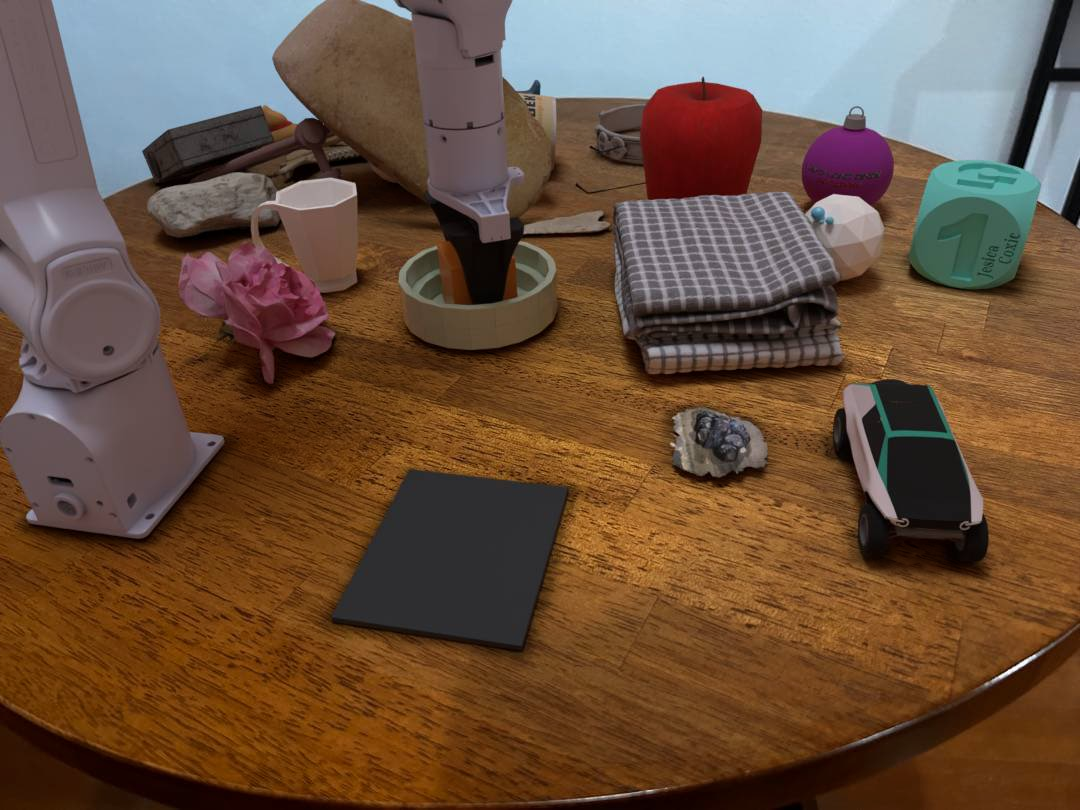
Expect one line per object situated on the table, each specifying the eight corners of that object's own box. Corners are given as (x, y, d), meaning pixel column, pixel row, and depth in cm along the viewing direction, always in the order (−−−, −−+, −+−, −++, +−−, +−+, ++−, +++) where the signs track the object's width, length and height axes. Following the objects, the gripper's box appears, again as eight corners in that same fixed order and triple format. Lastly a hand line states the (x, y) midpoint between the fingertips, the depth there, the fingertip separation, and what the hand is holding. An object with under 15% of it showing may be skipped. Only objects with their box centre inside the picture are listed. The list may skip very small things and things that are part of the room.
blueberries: (688, 495, 52) (690, 470, 50) (638, 419, 58) (639, 395, 57) (791, 471, 53) (795, 446, 52) (731, 400, 59) (733, 376, 58)
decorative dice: (902, 279, 72) (923, 187, 68) (918, 241, 78) (938, 154, 74) (1008, 298, 69) (1038, 202, 65) (1016, 257, 75) (1044, 166, 70)
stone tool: (602, 213, 86) (502, 225, 85) (602, 205, 85) (501, 217, 84) (615, 233, 82) (510, 246, 81) (615, 225, 82) (510, 237, 80)
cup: (357, 302, 73) (341, 210, 68) (246, 296, 74) (222, 206, 70) (384, 264, 78) (371, 178, 74) (280, 260, 80) (260, 174, 75)
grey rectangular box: (236, 162, 103) (152, 186, 98) (223, 128, 102) (137, 151, 97) (277, 142, 89) (181, 169, 85) (262, 103, 88) (164, 128, 84)
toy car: (925, 435, 55) (944, 364, 52) (980, 574, 46) (1008, 496, 43) (829, 431, 56) (842, 361, 53) (863, 567, 46) (882, 491, 43)
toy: (232, 147, 107) (223, 105, 104) (373, 142, 107) (368, 100, 104) (225, 155, 104) (215, 112, 101) (370, 150, 104) (364, 107, 101)
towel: (780, 259, 76) (792, 172, 71) (846, 375, 61) (866, 273, 56) (605, 267, 76) (606, 180, 71) (628, 385, 61) (630, 284, 56)
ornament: (881, 214, 74) (898, 179, 67) (870, 296, 74) (885, 270, 66) (798, 207, 76) (806, 172, 68) (787, 287, 75) (793, 260, 67)
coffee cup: (557, 155, 89) (438, 152, 88) (551, 193, 98) (443, 190, 98) (556, 71, 91) (440, 67, 90) (550, 116, 100) (445, 113, 99)
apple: (630, 244, 80) (634, 91, 72) (646, 201, 88) (651, 59, 80) (749, 252, 77) (766, 95, 70) (754, 207, 85) (770, 62, 78)
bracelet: (656, 174, 93) (657, 147, 92) (567, 146, 102) (567, 120, 100) (735, 142, 101) (738, 116, 99) (647, 118, 109) (648, 94, 108)
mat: (522, 651, 43) (521, 646, 42) (331, 622, 45) (330, 616, 44) (568, 492, 52) (568, 487, 52) (410, 473, 54) (409, 468, 54)
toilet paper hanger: (363, 105, 101) (398, 83, 89) (392, 175, 104) (430, 163, 91) (182, 172, 94) (193, 158, 81) (218, 245, 96) (234, 243, 84)
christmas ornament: (891, 202, 86) (912, 98, 80) (875, 234, 80) (897, 124, 74) (807, 190, 89) (822, 89, 83) (786, 220, 83) (800, 114, 77)
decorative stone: (209, 261, 80) (194, 209, 77) (136, 237, 85) (120, 187, 82) (307, 214, 88) (297, 166, 85) (236, 194, 93) (224, 148, 90)
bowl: (538, 361, 64) (536, 314, 62) (382, 348, 67) (375, 302, 64) (570, 285, 74) (569, 241, 72) (432, 276, 76) (427, 233, 74)
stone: (342, -50, 86) (349, -6, 92) (238, 48, 82) (251, 88, 87) (589, 125, 84) (579, 159, 89) (495, 235, 79) (491, 263, 85)
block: (518, 316, 68) (515, 257, 66) (456, 327, 67) (450, 269, 64) (501, 288, 72) (498, 232, 69) (442, 299, 71) (436, 242, 68)
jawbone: (263, 169, 101) (259, 151, 100) (428, 139, 108) (426, 122, 107) (281, 187, 94) (277, 168, 93) (456, 154, 101) (454, 136, 100)
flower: (345, 354, 72) (380, 284, 65) (259, 426, 66) (287, 357, 58) (241, 263, 72) (264, 181, 64) (145, 325, 66) (159, 243, 58)
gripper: (550, 140, 56) (556, 324, 64) (492, 84, 68) (502, 246, 76) (443, 156, 55) (462, 342, 63) (402, 95, 66) (422, 259, 74)
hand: (478, 290), depth 69 cm, fingers closed on block, 5 cm apart
